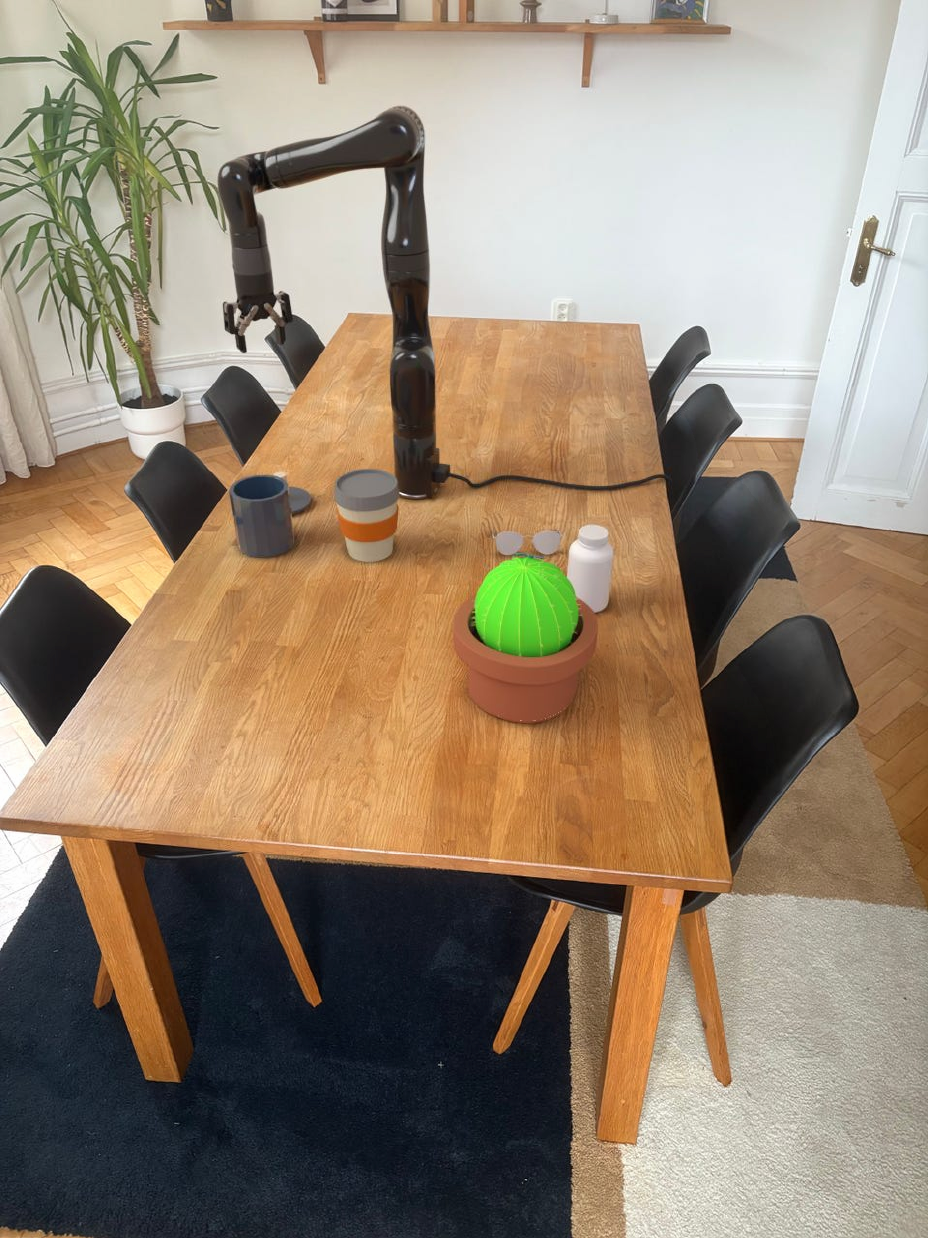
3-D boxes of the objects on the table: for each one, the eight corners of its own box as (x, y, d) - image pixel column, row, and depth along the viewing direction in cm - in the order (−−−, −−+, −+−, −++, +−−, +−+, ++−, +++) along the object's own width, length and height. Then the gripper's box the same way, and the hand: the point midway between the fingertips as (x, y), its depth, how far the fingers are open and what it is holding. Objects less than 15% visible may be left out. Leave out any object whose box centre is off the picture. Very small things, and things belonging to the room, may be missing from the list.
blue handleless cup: (303, 534, 195) (297, 479, 187) (278, 561, 186) (271, 504, 179) (254, 525, 197) (246, 471, 190) (228, 552, 189) (218, 496, 181)
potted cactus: (550, 753, 142) (561, 617, 127) (428, 702, 151) (425, 570, 137) (612, 676, 157) (628, 546, 143) (497, 634, 166) (501, 508, 152)
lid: (320, 495, 208) (318, 466, 204) (296, 521, 199) (293, 491, 195) (270, 487, 211) (267, 458, 207) (244, 513, 202) (239, 482, 198)
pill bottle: (612, 595, 177) (620, 524, 168) (603, 618, 171) (611, 546, 162) (570, 587, 179) (576, 517, 170) (560, 610, 173) (565, 538, 164)
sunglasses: (492, 555, 188) (493, 531, 186) (490, 540, 196) (490, 517, 193) (562, 554, 189) (563, 530, 186) (557, 539, 196) (558, 516, 194)
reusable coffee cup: (412, 542, 192) (410, 475, 183) (382, 572, 183) (378, 503, 174) (358, 529, 196) (354, 463, 188) (326, 558, 187) (320, 490, 178)
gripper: (227, 278, 183) (238, 360, 192) (293, 266, 190) (301, 346, 199) (211, 269, 188) (222, 349, 197) (275, 258, 194) (284, 336, 204)
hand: (262, 347), depth 198 cm, fingers open, 8 cm apart
